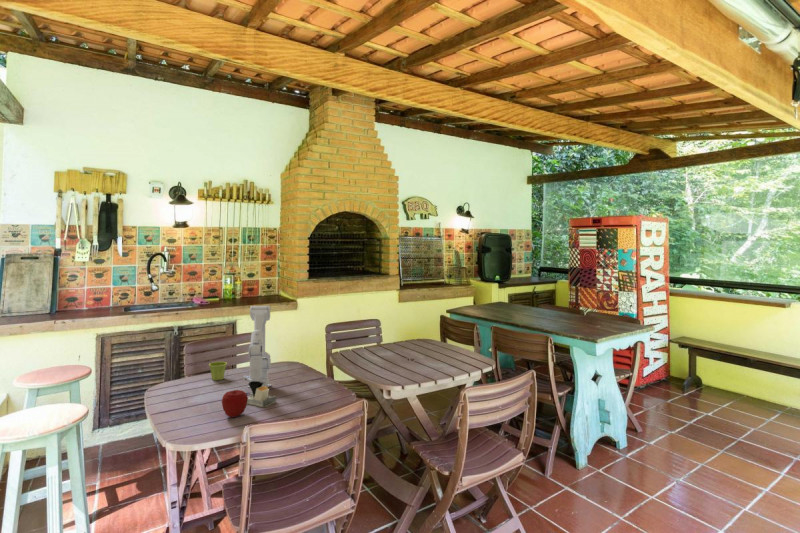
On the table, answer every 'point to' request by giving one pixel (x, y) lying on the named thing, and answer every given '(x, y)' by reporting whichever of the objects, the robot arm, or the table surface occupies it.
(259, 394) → the block
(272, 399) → the grey piece
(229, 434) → the table surface
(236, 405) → the apple
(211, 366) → the plant pot
